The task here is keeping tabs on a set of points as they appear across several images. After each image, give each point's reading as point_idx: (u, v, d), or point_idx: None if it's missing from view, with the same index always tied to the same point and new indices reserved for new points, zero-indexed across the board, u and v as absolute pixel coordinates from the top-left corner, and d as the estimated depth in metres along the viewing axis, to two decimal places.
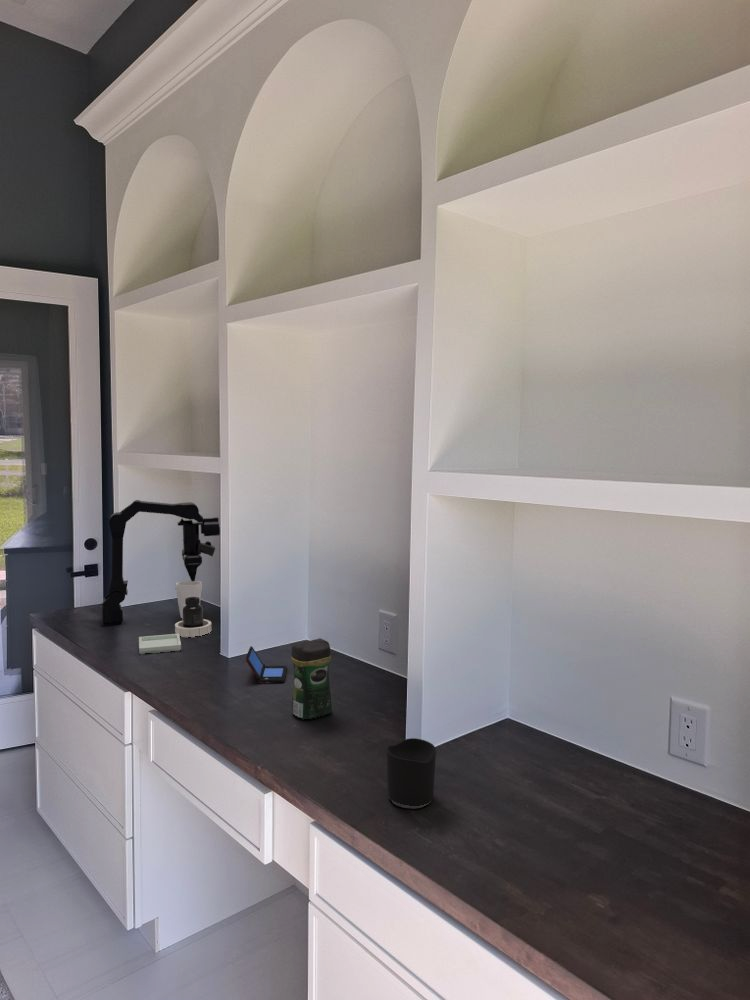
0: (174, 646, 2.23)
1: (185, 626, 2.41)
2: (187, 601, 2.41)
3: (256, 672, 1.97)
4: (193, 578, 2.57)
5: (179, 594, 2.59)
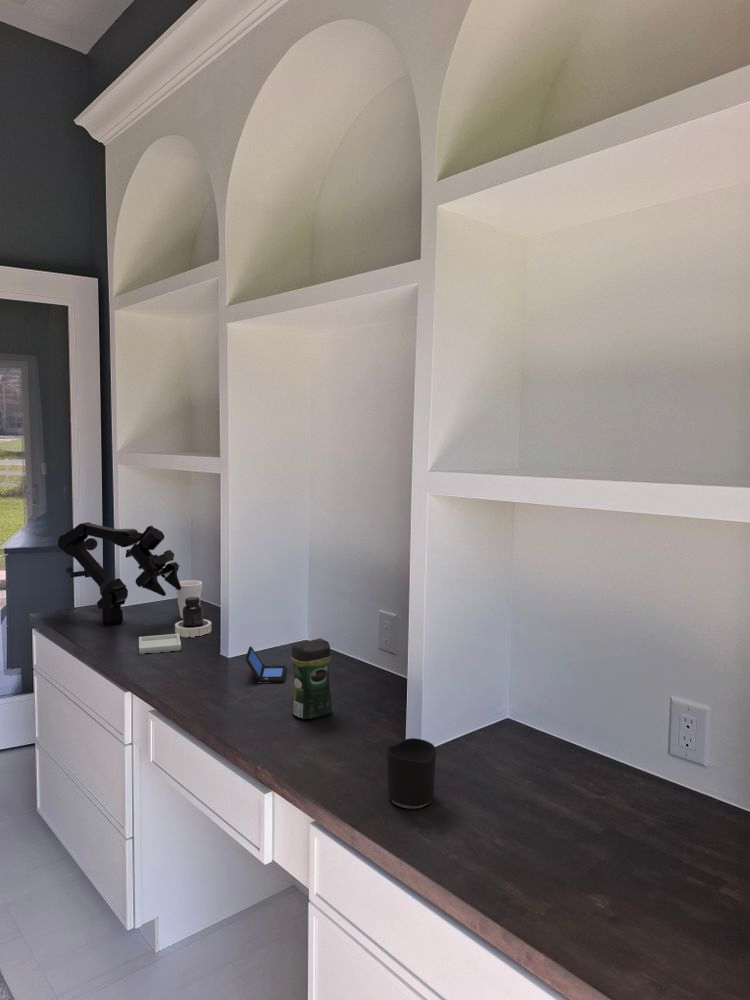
0: (174, 646, 2.23)
1: (185, 626, 2.41)
2: (187, 601, 2.41)
3: (256, 672, 1.97)
4: (162, 592, 2.41)
5: (179, 594, 2.59)
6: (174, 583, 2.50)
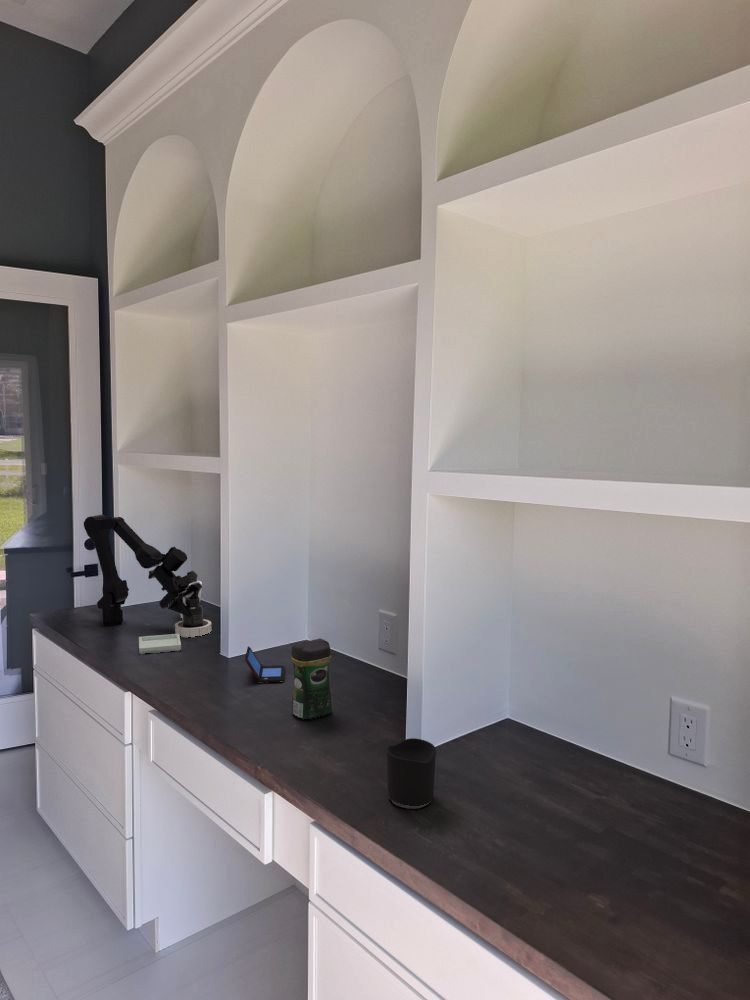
0: (174, 646, 2.23)
1: (185, 626, 2.41)
2: (187, 601, 2.41)
3: (255, 672, 1.97)
4: (188, 614, 2.39)
5: None
6: None
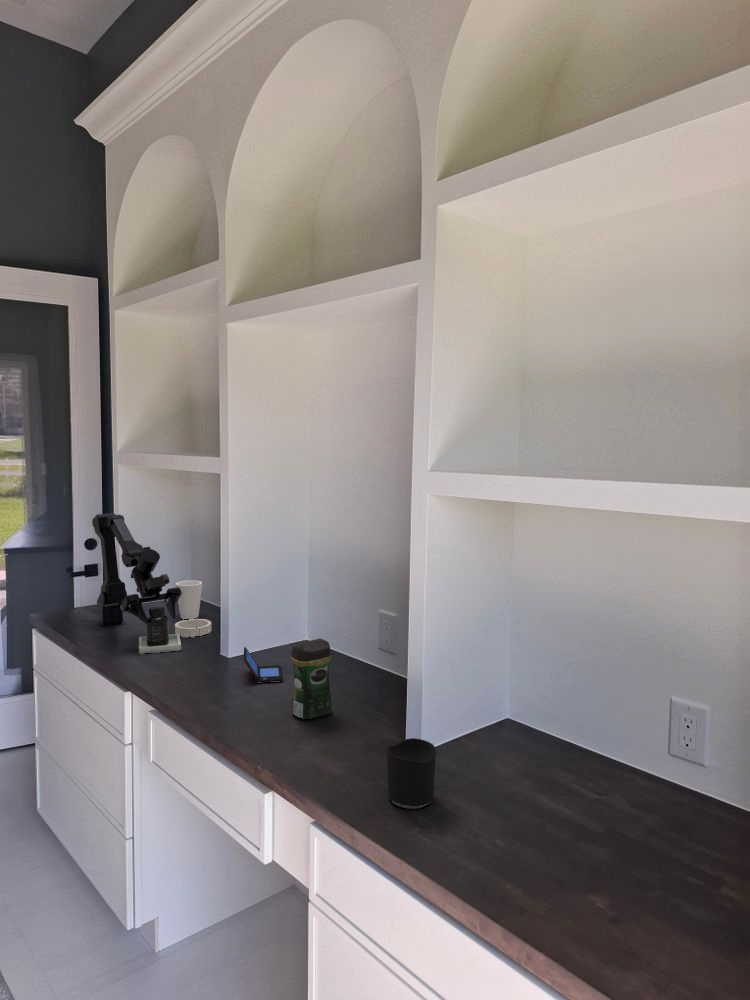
0: (174, 646, 2.23)
1: (146, 636, 2.25)
2: (149, 611, 2.25)
3: (254, 672, 1.96)
4: (144, 620, 2.23)
5: None
6: (170, 610, 2.31)
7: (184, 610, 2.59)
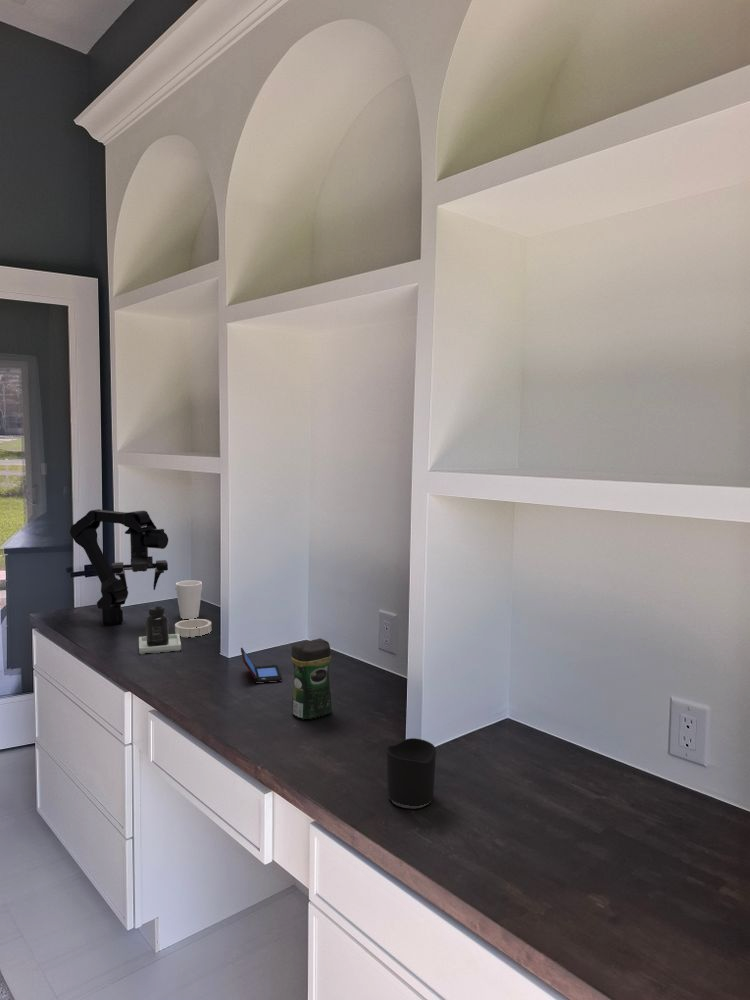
0: (174, 646, 2.23)
1: (146, 637, 2.25)
2: (149, 611, 2.25)
3: (253, 673, 1.96)
4: (124, 588, 2.47)
5: (179, 594, 2.59)
6: None
7: (184, 610, 2.59)
